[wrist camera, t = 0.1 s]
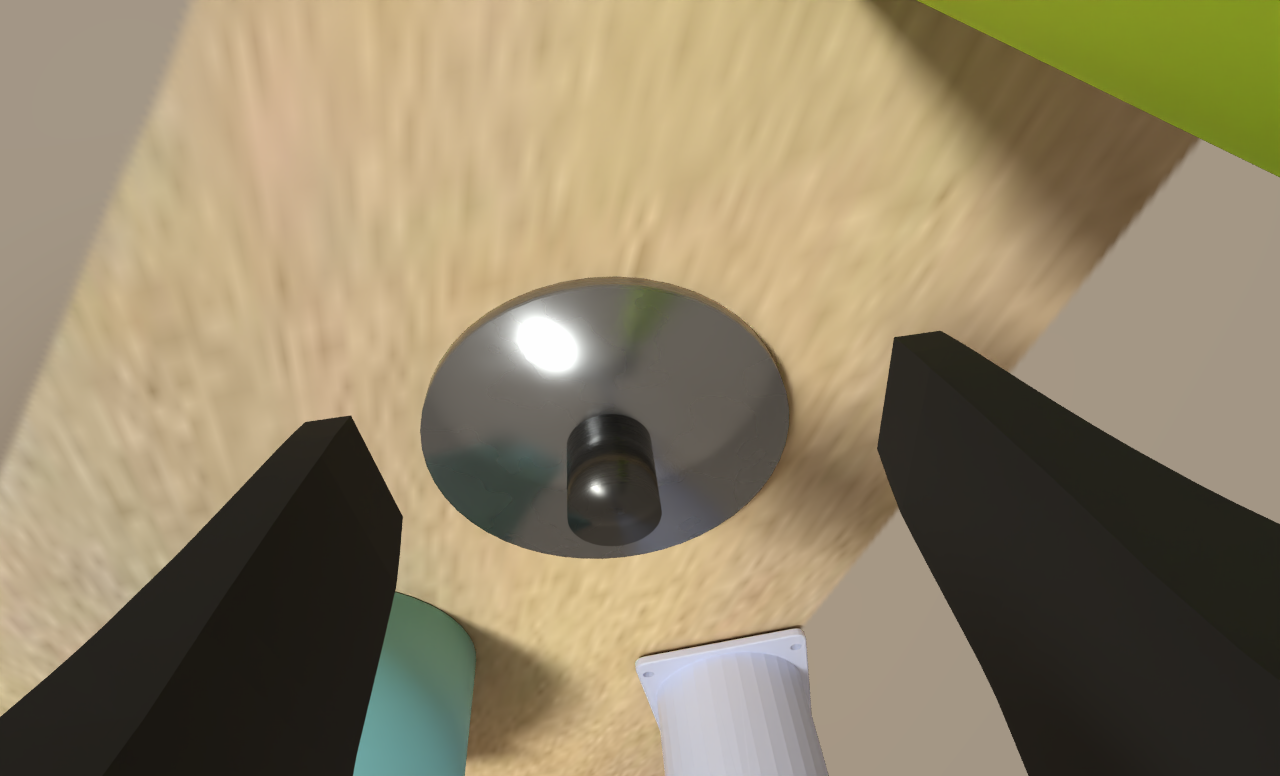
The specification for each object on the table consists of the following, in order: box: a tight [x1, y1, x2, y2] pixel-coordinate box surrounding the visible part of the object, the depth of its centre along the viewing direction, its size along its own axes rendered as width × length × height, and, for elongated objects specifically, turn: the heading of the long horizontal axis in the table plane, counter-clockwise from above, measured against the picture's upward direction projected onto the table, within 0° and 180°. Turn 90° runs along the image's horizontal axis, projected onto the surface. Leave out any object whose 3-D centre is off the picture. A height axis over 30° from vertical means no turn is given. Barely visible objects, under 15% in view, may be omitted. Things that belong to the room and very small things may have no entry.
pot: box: [353, 592, 476, 776], centre depth 28 cm, size 14×11×6 cm
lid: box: [420, 277, 789, 559], centre depth 22 cm, size 12×12×4 cm
